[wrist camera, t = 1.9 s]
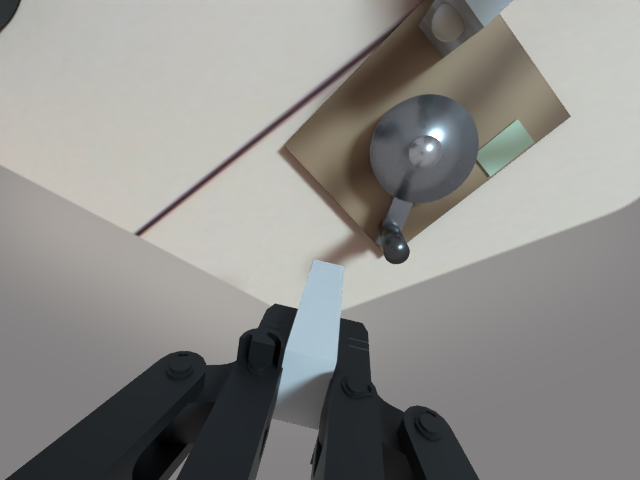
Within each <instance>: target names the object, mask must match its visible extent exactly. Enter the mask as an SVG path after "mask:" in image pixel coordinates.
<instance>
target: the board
mask: <svg viewBox="0 0 640 480" xmlns="http://www.w3.org/2000/svg"><path fill="white" fill-rule="evenodd" d="M512 1H513V0H423V1H422V2H421V3H420V4H419V5H418V6H417V7H416V8H415V9H414V10H413V11H412V13H411V14H410V15H409V16H408V17H407V18H406V19H405V20H404V21H403V22H402V23H401V24H400V25H399V26H398V27H397V28H396V29H395V30H394V31H393V32H392V33H391V34H390V35H389V36H388V38H387V39H386V40H385V41H384V42H383V43H382V44H381V45H380V46H379V47H378V48H377V49H376V50H375V51H374V52H373V53H372V54H371V55H370V56H369V57H368V58H367V59H366V60H365V61H364V63H363V64H362V65H361V66H360V67H359V68H358V69H357V70H356V71H355V72H354V73H353V74H352V75H351V76H350V77H349V78H348V79H347V80H346V81H345V82H344V83H343V84H342V85H341V86H340V88H339V89H338V90H337V91H336V92H335V93H334V94H333V95H332V96H331V97H330V98H329V99H328V100H327V101H326V102H325V103H324V104H323V105H322V106H321V107H320V108H319V109H318V110H317V111H316V113H315V114H314V115H313V116H312V117H311V118H310V119H309V120H308V121H307V122H306V123H305V124H304V125H303V126H302V127H301V128H300V129H299V130H298V131H297V132H296V133H295V134H294V135H293V136H292V138H291V139H290V140H289V141H288V142H287V143H286V144H285V145H284V146H285V147H286V148H287V149H288V150H289V151H290V152H291V153H292V154H293V155H294V156H295V158H296V159H297V160H298V161H299V162H300V163H301V164H302V165H303V166H304V167H305V168H306V169H307V170H308V171H309V173H310V174H311V175H312V176H313V177H314V178H315V179H316V180H317V181H318V182H319V183H320V184H321V185H322V187H323V188H324V189H325V190H326V191H327V192H328V193H329V194H330V195H331V196H332V197H333V198H334V199H335V200H336V202H337V203H338V204H339V205H340V206H341V207H342V208H343V209H344V210H345V211H346V212H347V213H348V214H349V216H350V217H351V218H352V219H353V220H354V221H355V222H356V223H357V224H358V225H359V226H360V227H361V228H362V229H363V231H364V232H365V233H366V234H367V235H368V236H369V237H370V238H371V239H372V240H373V241H374V242H375V243H376V240H375V239H376V236H377V233H378V224H379V222H380V221H381V220H383V218H384V215H385V213H386V210H387V207H388V205H389V202H390V200H391V197H392V195H391V194H390V193H388V192H387V191H386V190H385V189H384V188H383V187H382V186H381V185H380V183H379V182H378V180H377V178H376V177H375V174H374V172H373V170H372V167H371V164H370V158H369V145H370V140H371V136H372V133H373V131H374V129H375V127H376V125H377V123H378V122H379V120H380V119H381V118H382V116H383V115H384V114H385V113H386V112H387V111H388V110H390V109H391V108H392V107H394V106H395V105H397V104H399V103H401V102H403V101H405V100H407V99H409V98H412V97H415V96H419V95H425V94H435V95H441V96H446V97H448V98H451V99H453V100H455V101H456V102H458V103H459V104H461V105H462V106H463V107H464V108H465V109H466V110H467V111H468V112H469V114H470V115H471V117H472V118H473V120H474V122H475V125H476V128H477V131H478V138H479V149H478V155H477V159H476V162H475V165H474V167H473V169H472V171H471V173H470V174H469V176H468V177H467V179H466V180H465V181H464V182H463V183H462V185H461V186H460V187H458V188H457V189H456V190H455V191H454V192H452V193H451V194H449V195H447V196H445V197H444V198H441V199H439V200H436V201H432V202H427V203H413V205H412V207H411V210H410V212H409V214H408V217H407V219H406V222H405V224H404V226H403V229H402V231H401V232H402V234H403V236H404V239H405V241H406V243H407V242H409V241H410V240H411V239H413V238H414V237H415V236H416V235H418V234H419V233H420V232H422V231H423V230H424V229H425V228H427V227H428V226H429V225H431V224H432V223H433V222H435V221H436V220H437V219H438V218H440V217H441V216H442V215H444V214H445V213H446V212H448V211H449V210H450V209H451V208H453V207H454V206H455V205H457V204H458V203H459V202H460V201H462V200H463V199H464V198H466V197H467V196H468V195H470V194H471V193H472V192H473V191H475V190H476V189H477V188H479V187H480V186H481V185H483V184H484V183H485V182H486V181H488V180H489V179H490V178H492V177H493V176H494V175H496V174H497V173H498V172H499V171H501V170H502V169H503V168H505V167H506V166H507V165H508V164H510V163H511V162H512V161H514V160H515V159H516V158H518V157H519V156H520V155H521V154H523V153H524V152H525V151H527V150H528V149H529V148H531V147H532V146H533V145H534V144H536V143H537V142H538V141H540V140H541V139H542V138H543V137H545V136H546V135H547V134H549V133H550V132H551V131H553V130H554V129H555V128H556V127H558V126H559V125H560V124H562V123H563V122H564V121H566V120H567V119H568V118H569V117H571V116H570V115H569V113H568V112H567V110H566V109H565V107H564V106H563V105H562V103H561V102H560V100H559V99H558V97H557V96H556V94H555V93H554V92H553V90H552V89H551V87H550V86H549V84H548V83H547V81H546V80H545V79H544V77H543V76H542V74H541V73H540V71H539V70H538V68H537V67H536V66H535V64H534V63H533V61H532V60H531V58H530V57H529V56H528V54H527V53H526V51H525V50H524V48H523V47H522V45H521V44H520V43H519V41H518V40H517V38H516V37H515V35H514V34H513V32H512V31H511V30H510V28H509V27H508V25H507V24H506V22H505V21H504V19H503V18H502V17H501V15H500V14H499V13H500V12H501V11H502V10H503V9H504V8H505V7H506V6H508V5H509V4H510V3H511V2H512ZM376 245H377V246H378V247H379V248H380V249H381V250H382V251H383V248H382V245H379V244H376Z"/></svg>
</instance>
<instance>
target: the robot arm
mask: <svg viewBox="0 0 640 480" xmlns="http://www.w3.org/2000/svg"><path fill="white" fill-rule="evenodd" d="M18 2H19V0H0V28H1V27H2V26H3V25H4V24H5V23H6V22H7V21H8V20H9V19H10V17H11V16H12V14H13V12H14V11H15V9H16V6H17V4H18ZM343 275H344V266H341V265H336V264H332V263H328V262H323V261H319V260H315V259H314V260H313V263H312V266H311V270H310V273H309V276H308V279H307V282H306V286H305V289H304V292H303V295H302V298H301V301H300V305H299V308H298V309H296V308H292V307H287V306H283V305H279V304H274V305H273V306H271V307H270V308H268V309H267V310H266V312H265V314H264V316H263V319H262V320H261V322H260V325H259V327H258V328H257V329H251V330H249V331H247V332H245V333H244V334H243V335H242V336H241V337H240V339H239V347H238V354H237V361H235V362H232V363H229V364H224V365H206V363H205V361H204V359H203V357H201V356H200V355H199V354H197V353H193V352H190V351H178V352H175V353H171V354H169V355H167V356H165V357H163V358H161V359H160V360H159V361H157V362H156V363H155V364H153V365H152V366H151V367H150V368H149V369H147V370H146V371H144V372H143V373H142V374H141V375H139V376H138V377H137V378H135V379H134V380H133V381H132V382H130V383H129V384H128V385H126V386H125V387H124V388H123V389H121V390H120V391H119V392H118V393H116V394H115V395H114V396H112V397H111V398H110V399H109V400H107V401H106V402H105V403H103V404H102V405H101V406H99V407H98V408H97V409H96V410H94V411H93V412H92V413H90V414H89V415H88V416H87V417H85V418H84V419H83V420H81V421H80V422H79V423H78V424H76V425H75V426H74V427H72V428H71V429H70V430H69V431H67V432H66V433H65V434H63V435H62V436H61V437H59V438H58V439H57V440H56V441H54V442H53V443H52V444H50V445H49V446H48V447H47V448H45V449H44V450H43V451H42V452H40V453H39V454H38V455H36V456H35V457H34V458H32V459H31V460H30V461H29V462H27V463H26V464H25V465H23V466H22V467H21V468H20V469H18V470H17V471H16V472H14V473H13V474H12V475H11V476H10V477H8V478H7V479H5V480H168V479H169V478H170V477H171V475H172V474H173V473H174V472H175V470H176V469H177V468H178V467H179V465H180V464H181V463H182V462H183V460H184V459H185V458H186V457H187V455H188V454H189V453H190V454H189V456H188V458H187V460H186V462H185V464H184V466H183V468H182V470H181V472H180V474H179V475H178V477H177V479H176V480H255V479H256V476H257V472H258V468H259V465H260V461H261V458H262V454H263V451H264V447H265V444H266V440H267V437H268V432H269V427H270V423H271V419H272V418H273V419H277V420H281V421H285V422H289V423H293V424H297V425H301V426H305V427H309V428H313V429H318V428H319V434H318V437H317V441H316V445H315V448H314V452H313V455H312V459H311V462H310V463H311V464H313V466H312V474H311V480H479V478H478V476H477V475H476V473H475V471H474V469H473V467H472V466H471V464H470V462H469V460H468V458H467V457H466V455H465V453H464V451H463V449H462V447H461V446H460V444H459V442H458V440H457V438H456V437H455V435H454V433H453V431H452V429H451V428H450V426H449V425H448V424H447V422H446V421H445V420H444V418H442V417H441V416H440V415H439V414H437V413H436V412H435V411H433V410H430V409H429V408H427V407H422V406H412V407H409V408H408V409H407V410H406V411H405V412H403V411H401V410H399V409H397V408H395V407H393V406H391V405H389V404H388V403H386V402H385V401H384V400H383V399H382V398H380V397H379V395H378V394H377V391H376V388H375V386H374V385H373V383H372V382H371V372H370V359H369V358H370V357H369V344H368V332H367V330H366V328H365V327H364V325H363V324H362V323H359V322H355V321H351V320H347V319H342V318H340V314H341V301H342V288H343ZM319 424H320V425H319Z"/></svg>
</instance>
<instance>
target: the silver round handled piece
mask: <svg viewBox="0 0 640 480" xmlns="http://www.w3.org/2000/svg"><path fill="white" fill-rule="evenodd" d="M478 149H479V138H478V131H477V128H476V125H475V122H474V120H473V118H472V117H471V115H470V114H469V112H468V111H467V110H466V109H465V108H464V107H463V106H462V105H461V104H459V103H458V102H456V101H455V100H453V99H451V98H448V97H446V96H441V95H435V94H425V95H419V96H415V97H412V98H409V99H407V100H405V101H403V102H401V103H399V104H397V105H395V106H394V107H392V108H391V109H390V110H388V111H387V112H386V113H385V114H384V115H383V116H382V118H381V119H380V120H379V122H378V123H377V125H376V127H375V129H374V131H373V133H372V136H371V140H370V145H369V158H370V164H371V167H372V170H373V172H374V174H375V177H376V178H377V180H378V182H379V183H380V185H381V186H382V187H383V188H384V189H385V190H386V191H387V192H388V193H390V194H391V195H392V197H391V200H390V202H389V205H388V207H387V210H386V213H385V215H384V218H383V220H381V221H380V222H379V224H378V233H377V236H376V239H375V240H376V244H379V245H382V248H383V252H384V256H385V258H386V260H387V261H388V262H390V263H392V264H400V263H403V262H404V261H406V260H407V258H408V257H409V253H410V251H409V247H408V245H407V243H406V241H405V239H404V236H403V234H402V232H401V231H402V229H403V226H404V224H405V222H406V219H407V217H408V214H409V212H410V210H411V207H412V205H413V203H427V202H432V201H436V200H439V199H441V198H444V197H445V196H447V195H449V194H451V193H452V192H454V191H455V190H456V189H457V188H458V187H460V186H461V185H462V183H463V182H464V181H465V180H466V179H467V177H468V176H469V174H470V173H471V171H472V169H473V167H474V165H475V162H476V159H477V155H478Z"/></svg>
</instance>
